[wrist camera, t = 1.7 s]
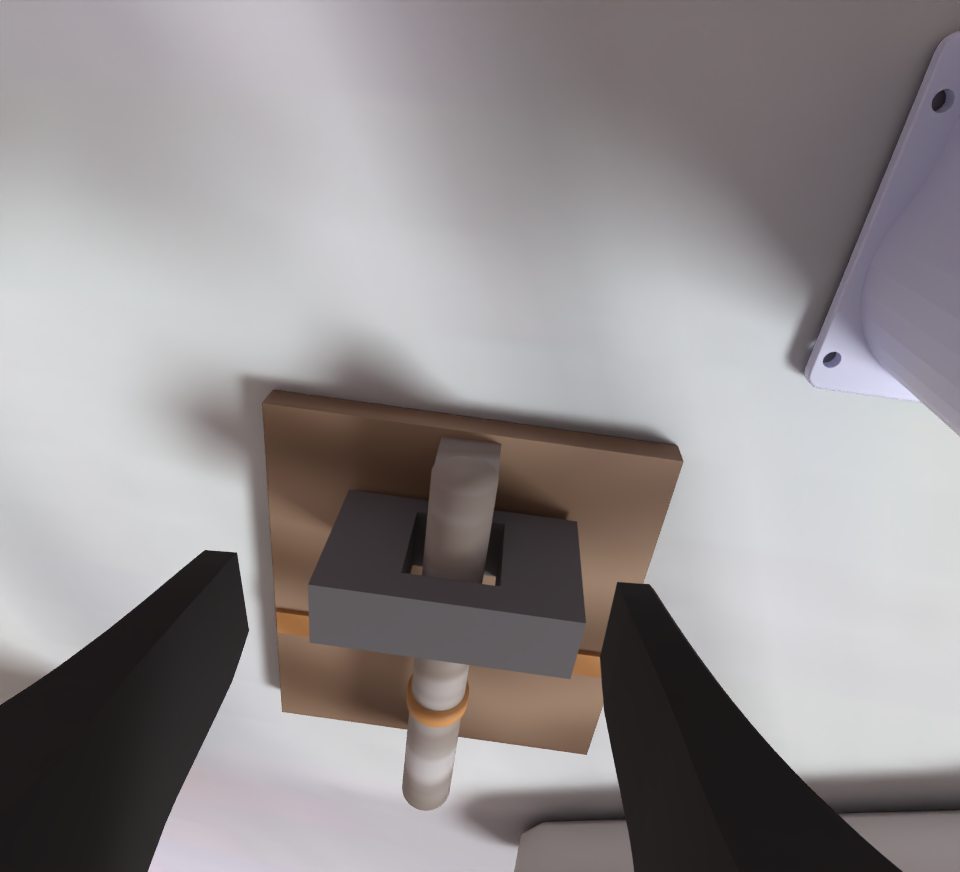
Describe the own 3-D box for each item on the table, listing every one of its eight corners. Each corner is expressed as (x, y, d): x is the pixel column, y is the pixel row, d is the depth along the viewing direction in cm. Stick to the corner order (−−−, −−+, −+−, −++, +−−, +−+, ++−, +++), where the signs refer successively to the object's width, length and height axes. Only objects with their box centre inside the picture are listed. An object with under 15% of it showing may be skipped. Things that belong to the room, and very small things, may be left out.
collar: (349, 489, 22) (307, 584, 18) (577, 521, 22) (586, 623, 18) (348, 542, 24) (309, 642, 20) (564, 572, 24) (570, 679, 20)
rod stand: (273, 389, 22) (215, 463, 18) (677, 445, 22) (709, 531, 18) (289, 693, 30) (251, 789, 26) (585, 734, 30) (592, 838, 26)
